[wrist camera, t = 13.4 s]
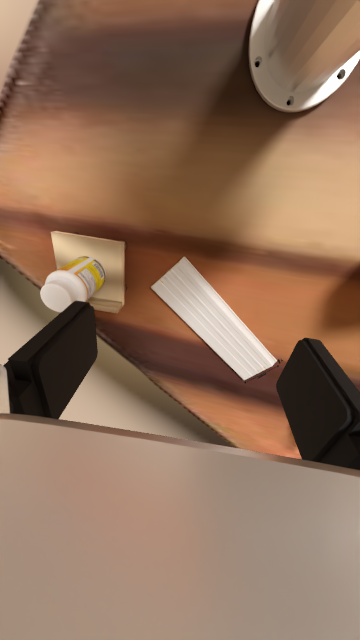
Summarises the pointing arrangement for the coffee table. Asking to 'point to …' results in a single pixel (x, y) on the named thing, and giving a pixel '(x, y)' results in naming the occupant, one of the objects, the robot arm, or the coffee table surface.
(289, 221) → the coffee table surface
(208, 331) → the baseboard
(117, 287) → the shelf
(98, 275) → the supplement bottle
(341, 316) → the coffee table surface
